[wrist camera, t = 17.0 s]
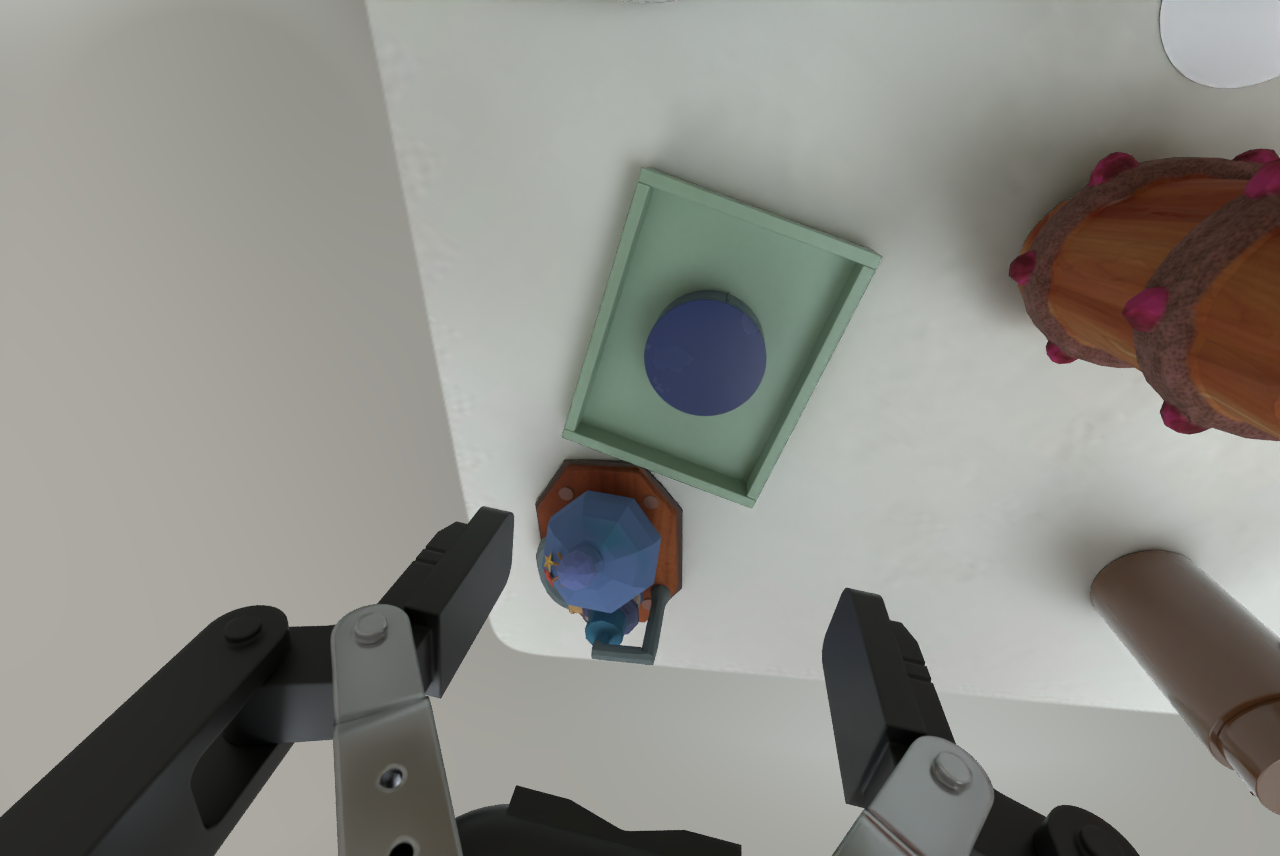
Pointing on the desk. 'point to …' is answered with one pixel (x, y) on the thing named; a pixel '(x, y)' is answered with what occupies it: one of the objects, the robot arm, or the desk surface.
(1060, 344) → the mug
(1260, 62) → the champagne flute
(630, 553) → the model
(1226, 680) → the jar
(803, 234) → the tray
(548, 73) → the desk surface
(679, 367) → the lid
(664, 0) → the planter
